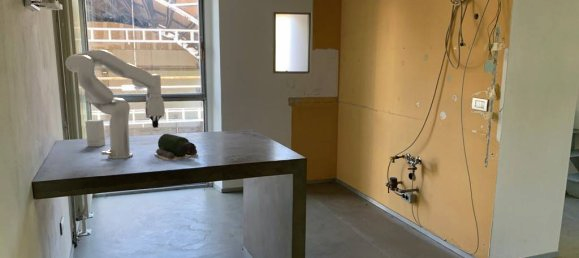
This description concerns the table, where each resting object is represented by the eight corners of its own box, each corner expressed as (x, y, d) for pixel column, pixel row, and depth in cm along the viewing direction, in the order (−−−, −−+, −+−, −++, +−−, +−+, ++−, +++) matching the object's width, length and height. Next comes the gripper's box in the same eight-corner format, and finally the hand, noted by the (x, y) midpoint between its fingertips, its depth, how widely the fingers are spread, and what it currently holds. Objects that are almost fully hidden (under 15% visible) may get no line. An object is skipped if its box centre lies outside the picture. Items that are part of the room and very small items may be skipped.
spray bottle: (165, 155, 245) (192, 163, 228) (153, 144, 238) (180, 151, 222) (177, 141, 249) (203, 148, 233) (165, 129, 243) (192, 135, 226)
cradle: (168, 160, 227) (168, 153, 227) (155, 156, 237) (155, 149, 236) (198, 155, 240) (197, 148, 240) (184, 151, 250) (183, 145, 249)
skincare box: (105, 144, 265) (104, 119, 262) (99, 147, 258) (98, 121, 256) (92, 144, 266) (91, 119, 263) (86, 146, 259) (84, 120, 257)
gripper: (144, 97, 241) (146, 129, 244) (169, 95, 252) (170, 127, 255) (138, 96, 247) (140, 127, 250) (163, 94, 257) (164, 125, 260)
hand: (155, 127), depth 252 cm, fingers closed
